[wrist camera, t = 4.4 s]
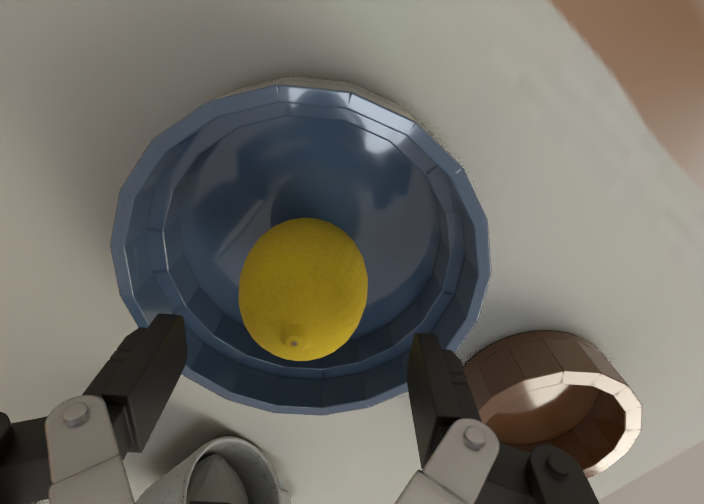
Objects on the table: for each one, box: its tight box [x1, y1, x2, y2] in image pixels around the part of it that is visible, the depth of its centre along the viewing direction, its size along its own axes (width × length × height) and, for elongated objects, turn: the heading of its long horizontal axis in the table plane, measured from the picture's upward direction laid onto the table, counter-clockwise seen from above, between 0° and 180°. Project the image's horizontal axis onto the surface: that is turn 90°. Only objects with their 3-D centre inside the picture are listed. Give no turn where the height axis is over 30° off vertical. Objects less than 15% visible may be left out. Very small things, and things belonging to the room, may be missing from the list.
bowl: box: [110, 76, 491, 415], centre depth 20 cm, size 16×16×4 cm
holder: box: [463, 331, 642, 478], centre depth 25 cm, size 10×10×4 cm
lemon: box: [239, 218, 368, 361], centre depth 18 cm, size 6×6×8 cm
